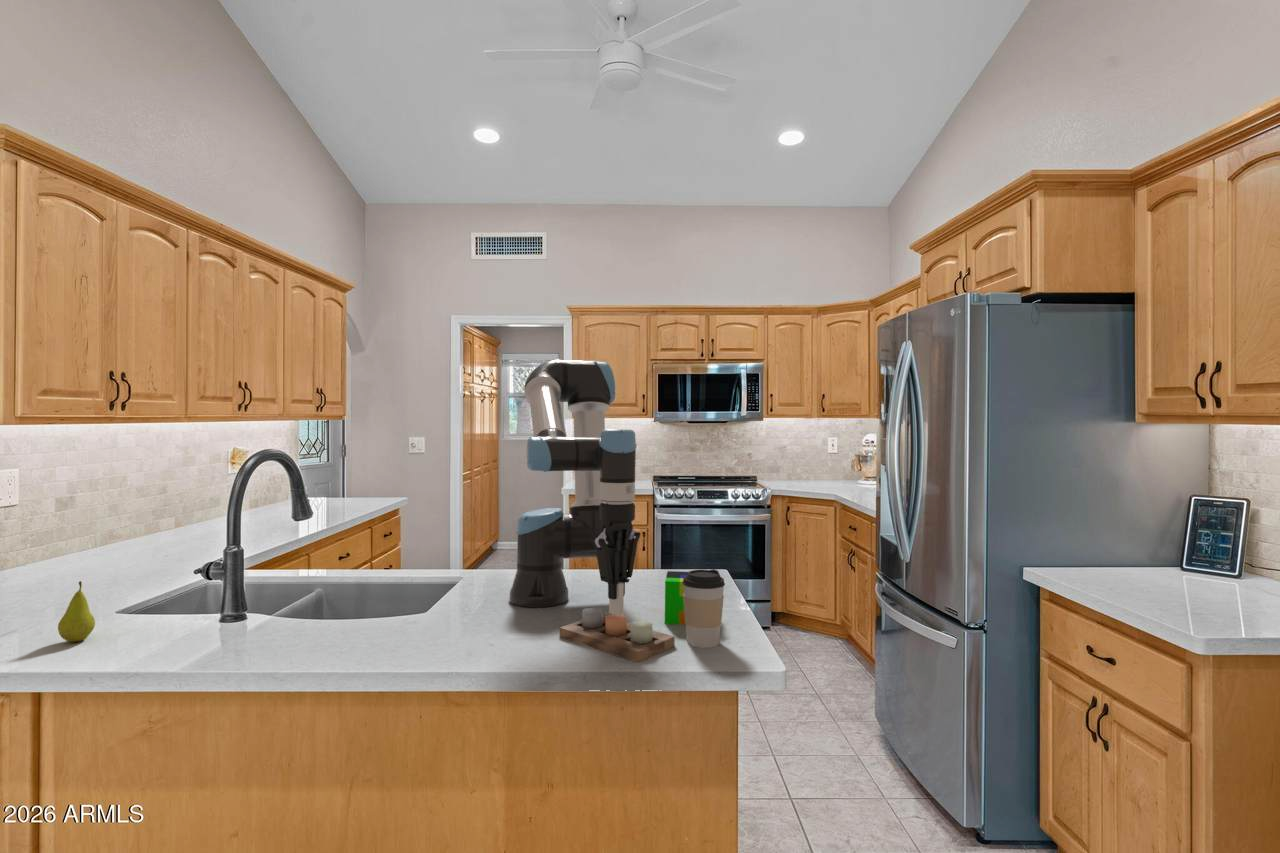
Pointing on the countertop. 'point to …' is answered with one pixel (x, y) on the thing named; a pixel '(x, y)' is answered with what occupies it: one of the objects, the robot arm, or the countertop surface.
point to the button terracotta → (616, 625)
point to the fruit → (76, 619)
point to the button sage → (641, 632)
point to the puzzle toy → (674, 598)
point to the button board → (617, 641)
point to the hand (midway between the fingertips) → (616, 613)
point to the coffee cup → (703, 607)
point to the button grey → (592, 618)
